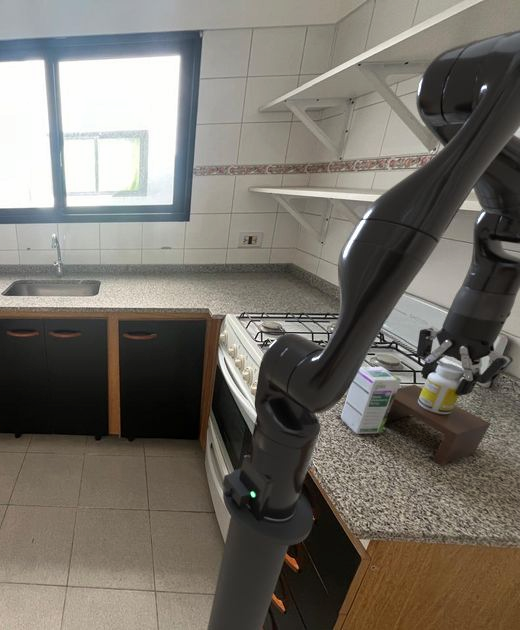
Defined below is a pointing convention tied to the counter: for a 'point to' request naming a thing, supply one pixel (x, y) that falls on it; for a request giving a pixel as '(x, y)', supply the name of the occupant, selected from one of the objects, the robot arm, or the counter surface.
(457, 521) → the counter surface
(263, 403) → the robot arm
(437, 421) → the brown wooden arch block
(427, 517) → the counter surface
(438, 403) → the supplement bottle
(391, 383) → the syrup box
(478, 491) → the counter surface
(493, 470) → the counter surface
